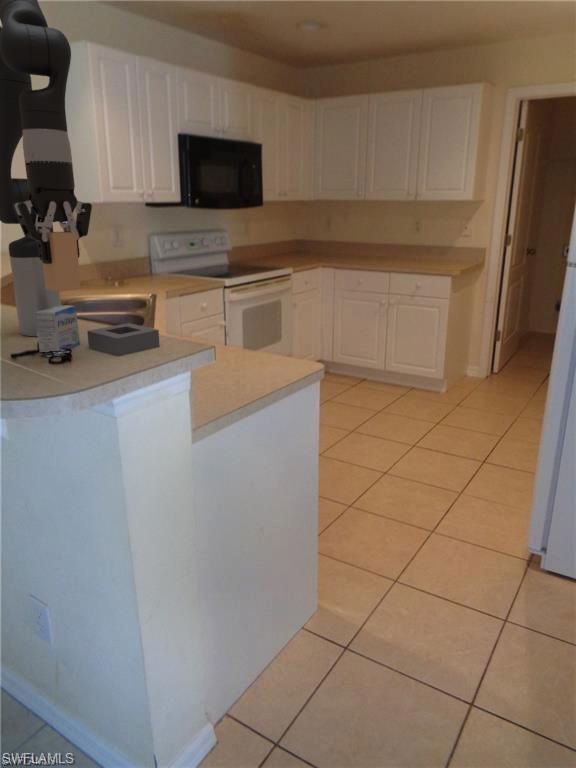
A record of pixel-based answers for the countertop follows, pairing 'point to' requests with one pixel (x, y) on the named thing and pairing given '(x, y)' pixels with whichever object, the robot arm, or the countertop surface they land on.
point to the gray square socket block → (123, 339)
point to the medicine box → (57, 328)
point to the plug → (62, 263)
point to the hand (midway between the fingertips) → (60, 261)
